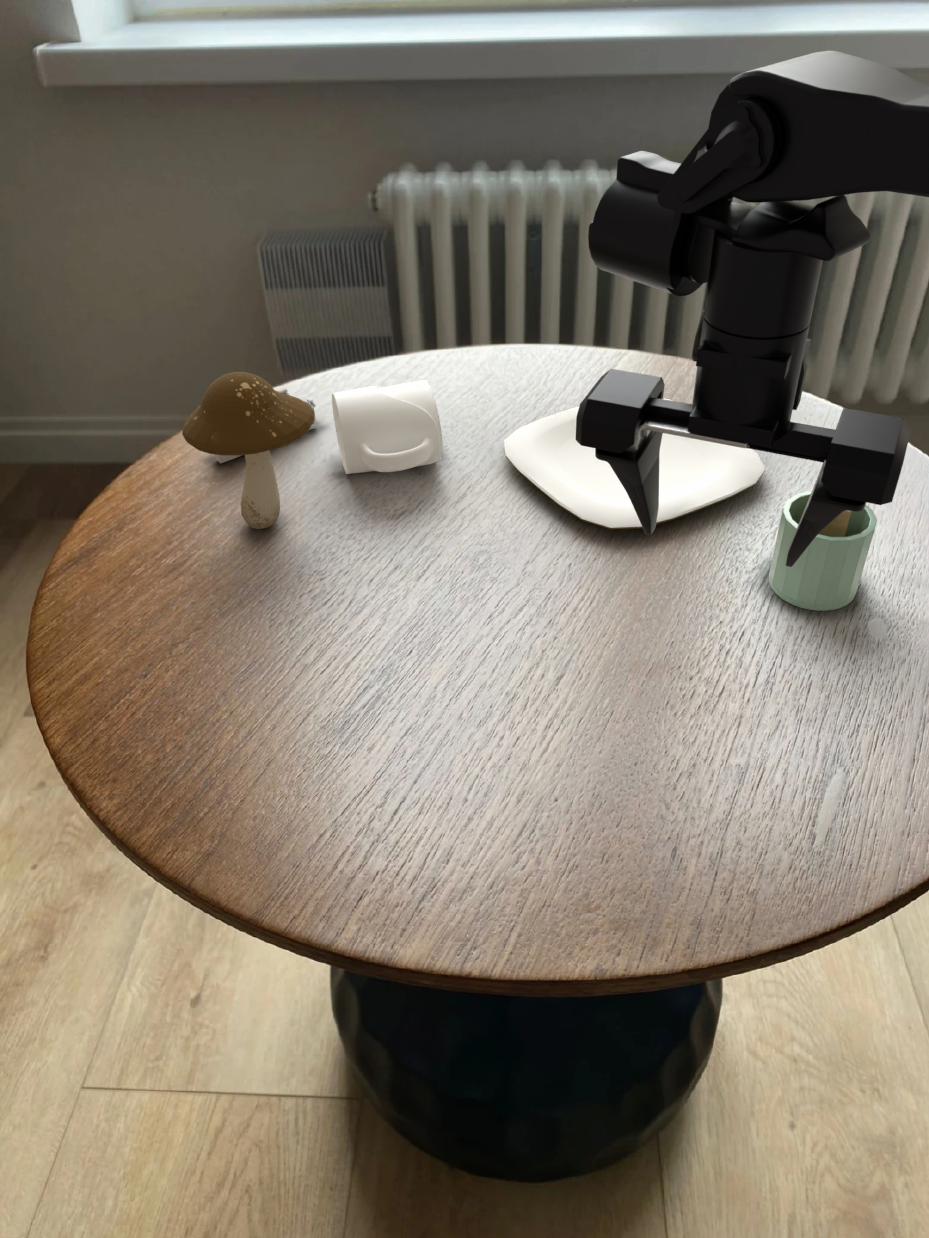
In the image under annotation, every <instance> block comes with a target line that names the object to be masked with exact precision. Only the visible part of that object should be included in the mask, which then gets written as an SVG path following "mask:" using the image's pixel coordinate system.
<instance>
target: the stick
mask: <svg viewBox="0 0 929 1238" xmlns="http://www.w3.org/2000/svg"><path fill="white" fill-rule="evenodd" d="M851 512H852V511H843V512H842V513H841V514H840V515H839V516H838V517H836V518H835V519H834V520H833V521H832V522H831V523H830V524H828V525H827V526H826V527H825V528H824V529H823V530H822V531H821V532H820V533H819V534H820V535H824V536H829V537H845V535H846V531H847V527H848V524H849V520H850V516H851Z"/></svg>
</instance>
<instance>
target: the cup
mask: <svg viewBox="0 0 929 1238" xmlns="http://www.w3.org/2000/svg"><path fill="white" fill-rule="evenodd" d="M811 492H812V490H807V491H804V492H800V493H799V492H798V493H796V494H794V495H793V496H791V497H790V498H788V499H787V500H786V501H785V502H784V506H783V508H782V512H781V516H780V521H779V526H778V530H777V534H776V535H777V536H776V538H775V539H776V541H775V544H774V548H773V553H772V559H771V563H770V569H769V571H768V572H769V573H768V583H769V587H770V588H771V590H772V591H773V592H774V593H775V595H777V596H778V597H779V598H780V599H781V600H782V601H784V602H786V603H788V604H791V605H792V606H795V607H797V608H801V609H805V610H809V611H821V612H822V611H823V612H824V611H825V612H826V611H833V610H838V609H841V608H843V607H846V606H847V605H849V604H850V603H851V602H852V601H853V600H854V599H855V597H856V595H857V592H858V589H859V588H858V587H859V585H860V582H861V578H862V575H863V571H864V568H865V565H866V561H867V558H868V554H869V551H870V547H871V544H872V540H873V538H874V534H875V530H876V527H877V524H878V518H877V516H876V514H875V512H874V510H873V509H872V508H871V507H870V506H868V505H867V504H866V505H865V508H864V509H863V510H862V511H858V512H853V511H852V512H851V516H850V520H849V524H848V527H847V531H846V535H845V537H829V536H824V535H820V534H818V535H817V536H816V537H815V538H814V540H813V541H812V542H811V543H810V545H809V546H808V547H807V548H806V550H805V551H804V552H803V554H802V555H801V556H800V557H799V559H798V560H797V561H796V562H795V564H794V565H793V566H792V567H788V566H786V560H787V555H788V551H789V548H790V545H791V542H792V540H793V537H794V534H795V532H796V529H797V527H798V524H799V522H800V519H801V517H802V514H803V512H804V510H805V507H806V505H807V502H808V500H809V497H810V495H811Z"/></svg>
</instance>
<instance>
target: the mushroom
mask: <svg viewBox="0 0 929 1238" xmlns="http://www.w3.org/2000/svg"><path fill="white" fill-rule="evenodd" d="M306 402H307V401H306ZM306 402H304V400H302V399H301V398H298V397H296V396H293V395H291V394H289V395H287V394H284V393H281V392H279V390H276V389H274V387H273V386H272V385H271V384H270V383H269V382H268V381H267V380H265V379H264V378H262V377H261V376H259V375H257V374H254V373H251V372H248V371H246V372H245V371H233V372H229V373H225V374H222V375H221V376H219V377H217V378H215V380H214V381H212V383H210V385H209V386H208V387H207V389H206V390H205V392H204V394H203V396H202V398H201V402H200V403H199V405H198V406H197V407H196V408H195V409H194V411H193V412H192V413H191V414H190V415H189V416H188V418H186V420H185V421H184V424H183V428H182V433H181V434H182V436H183V438H184V440H185V442H186V443H187V444H189V445H190V446H191V447H193V448H195V450H197V451H199V452H202V453H206V454H210V455H215V454H216V455H242V456H244V459H245V471H244V479H243V487H242V492H241V500H240V511H241V517H242V518H243V520H244V522H245V523H246V524H247V526H248V527H250V528H252V529H256V530H262V529H268V528H269V527H271V526H273V525H274V524H275V523H276V522H278V519H279V515H280V513H281V498H280V496H281V495H280V490H279V486H278V481H277V476H276V473H275V469H274V464H273V460H272V455H271V451H272V450H273V451H274V450H276V449H279V448H282V447H284V446H287V445H290V444H292V443H293V442H295V441H297V440H299V439H300V438H302V437H303V436H304V435H305V434H307V433H308V432H309V431H310V430H309V429H310V427H311V425H312V424H313V422H314V419H316V412H315V410H314V411H313V409H312V408H311V407H310V406H309V405H308V404H307V403H306Z"/></svg>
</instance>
